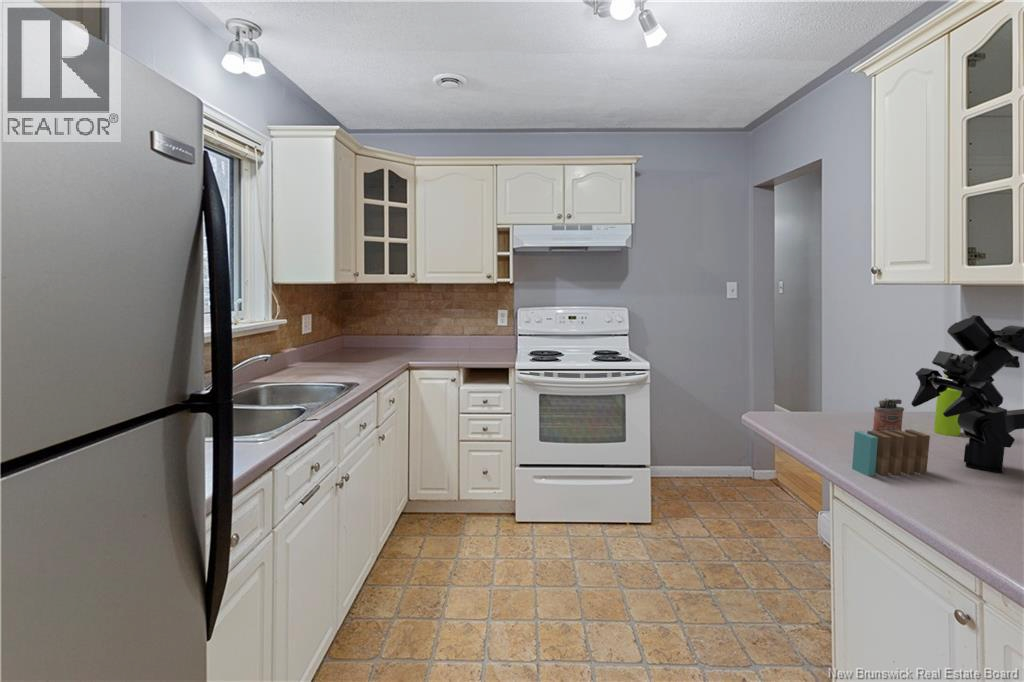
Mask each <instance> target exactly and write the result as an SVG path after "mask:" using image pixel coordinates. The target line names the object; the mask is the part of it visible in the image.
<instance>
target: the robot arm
mask: <svg viewBox="0 0 1024 682" xmlns="http://www.w3.org/2000/svg"><path fill="white" fill-rule="evenodd" d="M947 333H948V335H949V336H951V338H952V339H953V340H954V341H955V342H956V344H958V345H959V346H960V347H961V348H962V349H963V350H964V351H965V352H973V353H974V354H973V355H971V354H967V353H961V354H957V353H952V352H947V351H942V350H939V351H938V352H937V354H936V355H935V357H934V358H933V360H932V361H931V364H933V365H935V366H936V365H938V366H937V367H940V368H941V369H943V370H942V372H943V374H944V376H946V375H947V376H948V377H947V378H945V377H943V376H942V374H941V373H940V371H939V370H936V369H932V368H928V367H921V368H920V369H919V370H917V371H915V376H917V379H918V381H919V387H918V389H917V392H916V393H915V394H914V396H913V400H912V401H911V403H910V405H911V406H912V407H915V408H916V407H918V406H920V405H922V404H925V403H927V402H929V401H931V400H933V399H935V398H936V399H937V397H938V396H940V393H941V392H944V391H945V390H946V389H947V388H951V389H955V390H957V391H960V392H962V394H961V396H960V397H959V398H958V399H957V400H956V401H955V402H954V403H953V404H951V405H950V406H949V407H948V408H947V409H946V410H945V412H944V413H943V415H944V416H945V417H950V416H954V415H958V414H959V416H958V424H959V426H960V427H961V430H963V434H964V436H965V437H968V438H969V439H968V442H967V443H965V446H964V455H963V462H964V463H965V467H967V468H972V469H977V470H982V471H983V470H984V471H988V472H993V473H1001V474H1002V473H1003V471H1004V456H1005V448H1012V445H1013V444H1014V442H1015V438H1014V437H1013V436H1012V435H1011V434H1010V433H1012V432H1013V431H1016V430H1023V429H1024V408H1023V409H1022V408H1021V409H1011V410H1008V409H1006V408H1003V407H1001V405H1002V404H1003V402H1004V397H1003V395H1002V394H1001V393H1000V391H999V390H998V389H997V387H996V386H995V384H994V383H993V382H994V381H995V379H994V378H993V377H994V375H995V374H997V373H998V372H999V371H1000V370H1002V369H1003V368H1004V367H1005V368H1009V369H1010V368H1013V369H1019V368H1020V367H1021V364H1020V363H1021V362H1020V361H1019V358H1020V357H1019V355H1013V354H1012V353H1011V352H1010V351H1012V352H1015V353H1019V354H1024V326H1022V325H1021V326H1020V325H1007V326H1005V327H1003V328H1002V329H1000V330H997V329H996V330H993V329H991V327H990V326H989V325H987V324H986V322H985V320H984V319H983V318H982V317H981V316H980V315H975V314H973V315H972V316H969V317H967V318H964V319H962V320H959V321H958V322H957V321H956V322H955V323H953V324H952V325H951V326H949V328H947Z"/></svg>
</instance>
